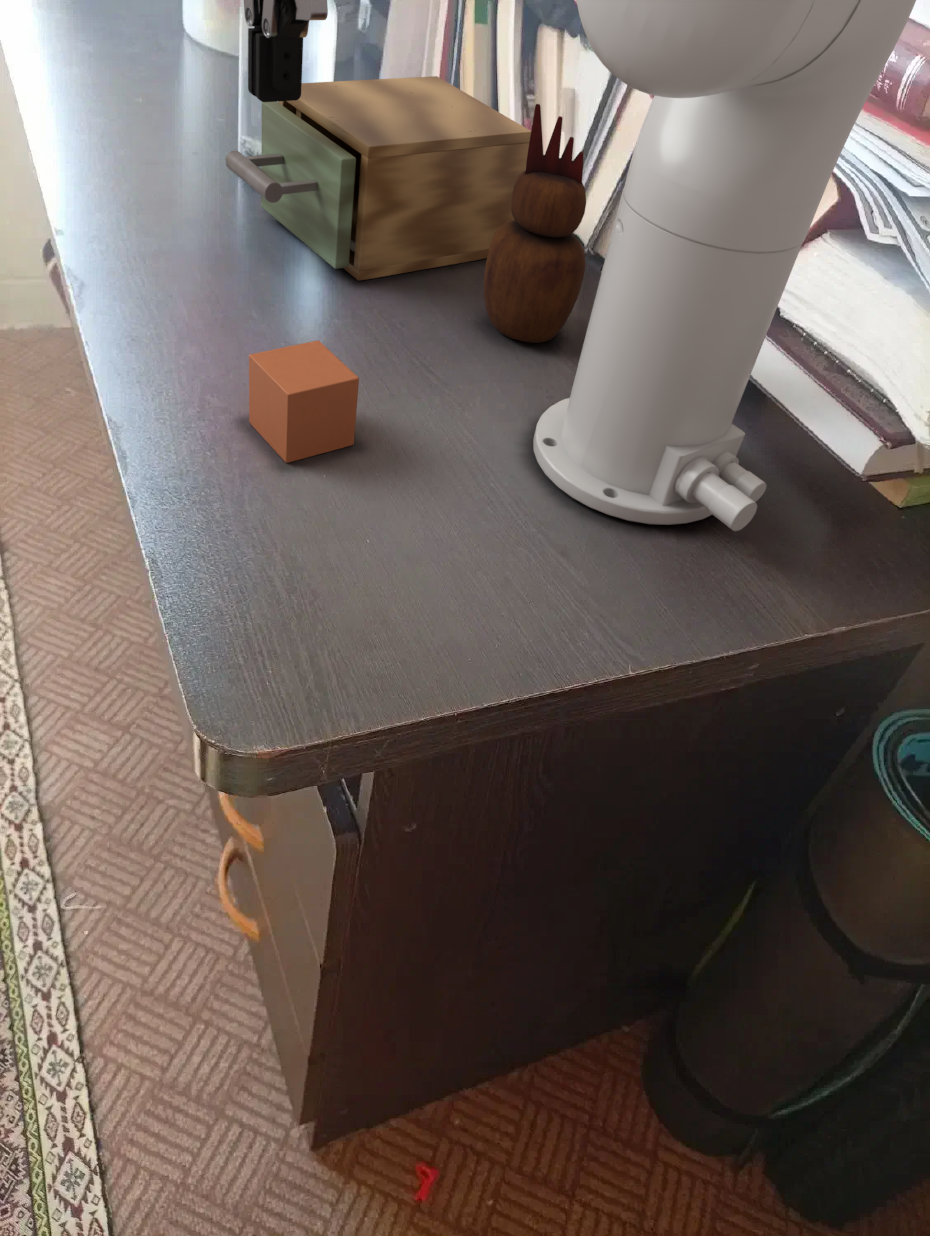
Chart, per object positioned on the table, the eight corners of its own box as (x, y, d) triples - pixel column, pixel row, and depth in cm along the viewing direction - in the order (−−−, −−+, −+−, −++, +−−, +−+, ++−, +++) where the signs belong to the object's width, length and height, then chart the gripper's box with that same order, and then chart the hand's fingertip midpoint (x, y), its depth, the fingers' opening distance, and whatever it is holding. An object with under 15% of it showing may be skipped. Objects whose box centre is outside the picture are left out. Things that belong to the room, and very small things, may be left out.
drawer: (282, 278, 69) (285, 164, 64) (210, 212, 75) (206, 104, 70) (480, 245, 78) (496, 143, 73) (401, 189, 84) (411, 91, 79)
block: (354, 445, 57) (359, 377, 54) (286, 463, 55) (287, 394, 52) (315, 406, 60) (318, 339, 57) (248, 422, 57) (248, 354, 54)
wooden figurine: (463, 329, 69) (499, 103, 59) (497, 301, 73) (537, 85, 63) (548, 362, 68) (600, 136, 57) (579, 332, 72) (633, 115, 61)
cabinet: (358, 281, 72) (368, 146, 66) (276, 212, 79) (278, 83, 72) (509, 254, 80) (532, 131, 73) (423, 194, 86) (436, 75, 80)
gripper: (159, -290, 56) (175, 61, 69) (287, -244, 48) (278, 142, 61) (276, -272, 60) (271, 58, 72) (412, -226, 52) (379, 134, 65)
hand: (274, 96), depth 67 cm, fingers closed
